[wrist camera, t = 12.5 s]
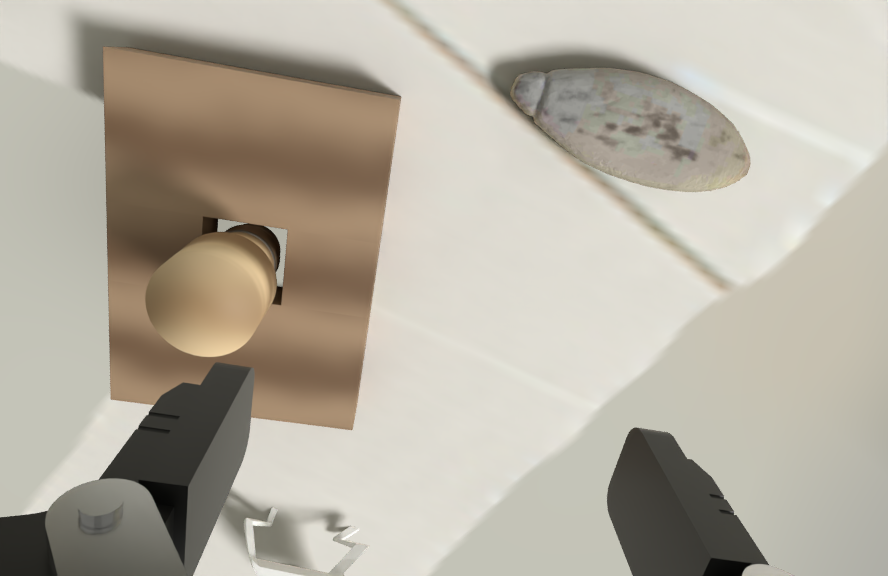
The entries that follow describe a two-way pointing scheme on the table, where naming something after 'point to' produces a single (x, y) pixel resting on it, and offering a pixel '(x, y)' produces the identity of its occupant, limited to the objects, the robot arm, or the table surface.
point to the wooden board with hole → (246, 219)
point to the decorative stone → (635, 127)
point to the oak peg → (215, 290)
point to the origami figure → (273, 572)
